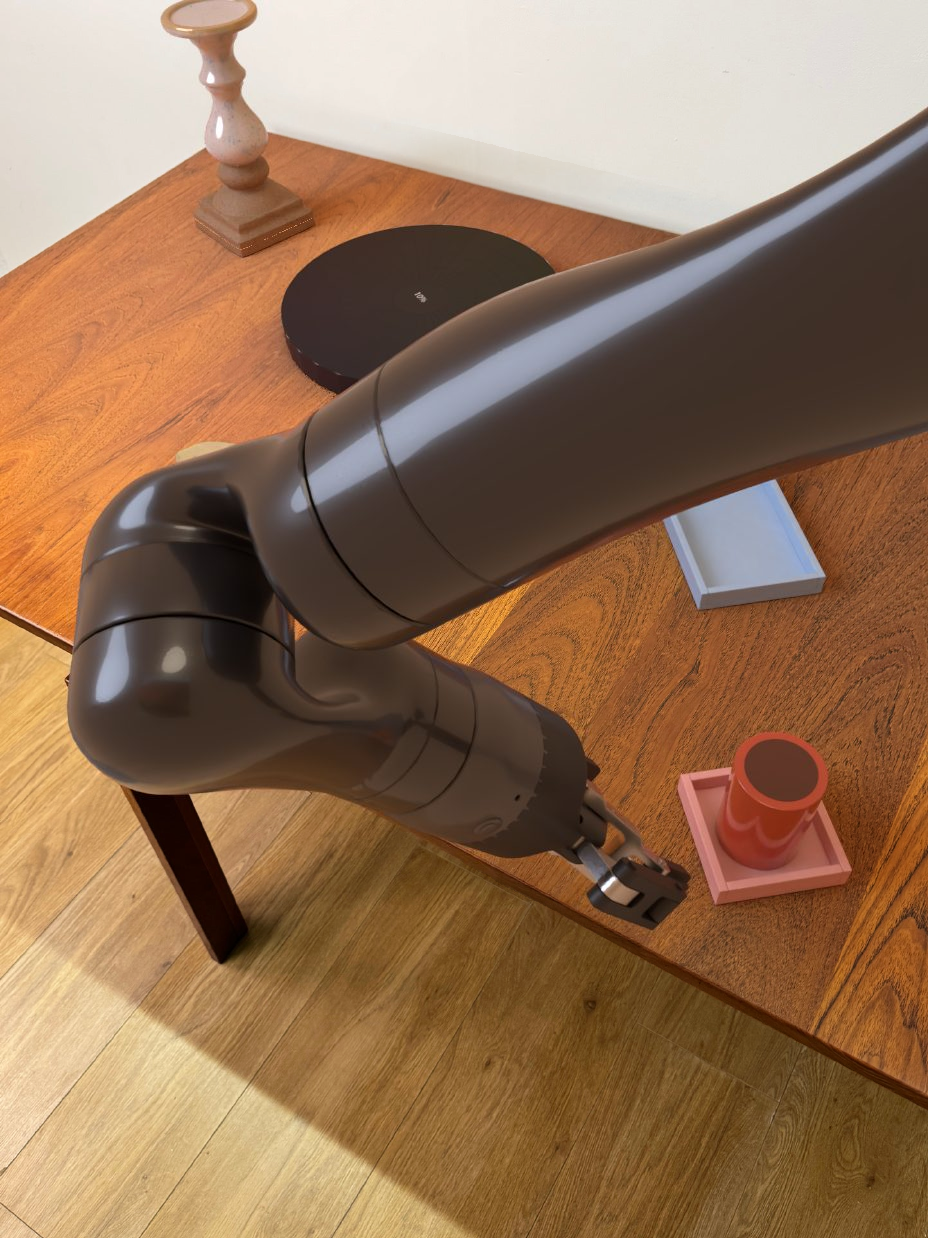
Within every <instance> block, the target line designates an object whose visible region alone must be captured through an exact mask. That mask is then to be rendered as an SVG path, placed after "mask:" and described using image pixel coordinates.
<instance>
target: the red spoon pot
mask: <svg viewBox="0 0 928 1238" xmlns="http://www.w3.org/2000/svg"><path fill="white" fill-rule="evenodd" d="M731 767H732V768H731V771H730V775H729V778H728V781H727V785H726V788H725V791H724V794H723V798H722V801H721V804H720V808H719V811H718V814H717V817H716V822H715V831H716V836H717V839H718V841H719V843H720V845H721V847H722V848H723V850H724V851H725V852H726V853H727V854H728V855H729V856H730V857H731V858H732V859H733V860H735V861H736V862H738V863H739V864H741V865H743V866H746V867H748V868H752V869H756V870H773V869H777V868H780V867H782V866H784V865H786V864H788V863H789V862H790V861H791V860H792V859H793V858H794V857H795V856H796V854H797V852H798V850H799V848H800V846H801V843H802V841H803V839H804V837H805V835H806V833H807V830H808V828H809V826H810V824H811V822H812V819H813V817H814V815H815V813H816V811H817V808H818V806H819V804H820V802H821V800H822V799H823V798H824V795H825V793H826V791H827V788H828V785H829V772H828V768H827V765H826V762H825V760H824V759H823V756H822V755H821V754H820V753H819V752H818V750H817V749H815V747H814V746H812V745H811V744H810V743H809V742H807V741H806V740H804V739H802V738H800V737H799V736H797V735H793V734H790V733H787V732H781V731H765V732H761V733H758V734H755V735H752V736H751V737H749V738H747V739H746V740H745V741H743V742H742V743H741V745H739V747H738V749H737V750H736V752H735V755H734V759H733V762H732V765H731ZM822 801H823V800H822Z"/></svg>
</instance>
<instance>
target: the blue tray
mask: <svg viewBox="0 0 928 1238" xmlns="http://www.w3.org/2000/svg"><path fill="white" fill-rule="evenodd" d="M662 522H663V524H664V527H665V529H666V533H667V534H668V537H669V539H670V542H671V544H672V548H673V550H674V552H675V556H676V557H677V560H678V563H679V565H680V568H681V570H682V572H683V575H684V578H685V580H686V583H687V586H688V588H689V590H690V593H691V595H692V598H693V601H694V602H695V605H696V608H697V611H703V610H704V611H705V610H711V609H717V608H724V607H731V606H737V605H738V606H739V605H745V604H754V603H759V602H760V603H761V602H766V601H767V602H768V601H773V600H781V599H787V598H788V599H789V598H794V597H802V596H809V595H816V594H821V593H822V590H823V588H824V587H823V586H824V583H825V580H826V579H827V576H826V574H825V572H824V570H823V568H822V566H821V564H820V562H819V560H818V558H817V556H816V554H815V553H814V550H813V549H812V547H811V544H810V543H809V541H808V539H807V537H806V534H805V533H804V531H803V529H802V528H801V526H800V523H799V521H798V520H797V518H796V516H795V514H794V512H793V510H792V508H791V506H790V504H789V502H788V500H787V498H786V497H785V495H784V493H783V490H782V489H781V487H780V485H779V483H778V481H777V479H774V480H771V481H768V482H765V483H762V484H759V485H756V486H753V487H750V488H747V489H744V490H741V491H738V492H735V493H732V494H730V495H727V496H724V497H721V498H719V499H716V500H713V501H710V502H708V503H705V504H702V505H700V506H697V507H694V508H691V509H689V510H686V511H684V512H681V513H679V514H676V515H674V516H671V517H669V518H666V519H664V520H662Z"/></svg>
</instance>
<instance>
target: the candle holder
mask: <svg viewBox="0 0 928 1238" xmlns="http://www.w3.org/2000/svg"><path fill="white" fill-rule="evenodd" d="M258 14H259V13H258V6H257V4H256V3H255V2H254V1H253V0H180V1H177V2H175V3H173V4H171V5H170V6H168V7H166V8H165V9H164V10H163V12H162V13H161V15H160V24H161V27H162V29H163V30H164V31H165V32H166V33H167V34H169V35H170V36H173V37H176V38H179V39H185V40H186V39H187V40H189V41H190V43H191V44H192V45H194V46H195V47H196V48H197V50H198V51H199V53H200V55H201V59H202V64H201V65H202V66H201V68H200V71H199V74H198V80H199V83H200V84H201V85H203V86H204V87H205V89H206V91H207V92H209V94H210V96H211V99H212V103H211V110H210V114H209V117H208V119H207V123H206V124H205V125H206V126H205V128H204V129H205V130H204V134H203V135H204V136H203V137H204V139H203V140H204V145H205V149H206V151H207V152H208V154H209V155H210V156H211V157H212V158H213V159H215V160H216V161H217V162H219V163H218V166H217V169H216V171H217V172H216V173H217V177H218V180H219V181H220V182H221V184H222V185H221V186H220V187H219V188H218V189H217V190H215V191H213V192H211V193H208V194H206V195H204V196H203V197H201V198H200V199H199V200H198V201H197V202H198V205H199V207H198V208H196V209H195V210H194V211H192V214H193V218H194V217H195V218H196V219H197V220H199V222H201V223H203V225H205V226H206V227H208V228H209V229H211V230H212V231H214V232H215V233H216V234H218V235H219V236H220V237H219V236H218V235H216V234H215V233H213V232H212V231H210V230H209V229H208V228H206V227H205V226H203V225H202V224H200V223H199V222H198V221H196V220H195V218H194V221H195V226H196V227H197V228H198V229H199V230H200V231H202V232H203V233H205V234H206V235H208V236H209V237H210V238H212V239H213V240H215V241H216V242H217V243H219V244H220V245H222V246H223V247H224V248H226V249H227V250H229V251H231V252H232V253H234V254H235V255H237V256H239V257H241V258H244V257H247V256H250V255H252V254H255V253H257V252H260V251H262V250H263V249H266V248H268V247H271V246H272V245H274V244H277V243H279V242H282V241H283V240H285V239H288V238H290V237H292V236H294V235H297V234H299V233H301V232H303V231H305V230H308V229H309V228H311V227H314V226H315V224H316V223H315V217H314V213H313V210H312V209H311V208H310V207H309V206H307V205H306V204H304V201H303V199H302V198H301V197H300V196H299V195H298V194H296V193H295V192H293V191H292V190H290V189H289V188H287V187H286V186H284V185H283V184H281V183H279V182H277V181H276V180H274V179H273V178H270V177H268V176H269V175H270V165H269V163H268V161H267V159H265V157H264V156H262V155H263V154H264V153H265V152H266V150H267V148H268V146H269V145H268V144H269V134H268V133H269V132H268V130H267V128H266V126H265V124H264V122H263V121H262V120H261V118H260V117H259V116H258V115H257V113H256V112H255V111H254V110H253V109H252V108H251V106H250V105H249V104H248V103H247V101H246V100H245V98H244V97H243V93H242V89H243V86H244V80H245V79H246V77H247V71H246V69H245V67H244V66H242V65H241V63H240V62H239V61H238V60H237V57H236V55H235V50H234V49H235V48H234V47H235V42H236V40H237V38H238V35H239V32H243V30H245V29H248V28H249V27H251V26H252V25H253V24H254V23H255V22H256V20H257V18H258ZM311 218H312V219H311ZM309 219H310V220H309ZM307 220H308V221H307ZM305 221H306V222H305ZM303 222H304V223H303ZM300 223H301V224H300ZM295 225H297V226H295ZM294 226H295V227H294ZM291 227H292V228H291ZM289 228H290V229H289ZM286 229H288V230H286ZM284 230H286V231H284ZM282 231H284V232H282ZM279 232H281V233H279ZM276 234H277V235H276ZM274 235H275V236H274ZM272 236H273V237H272ZM222 238H223V239H222ZM267 238H268V239H267ZM224 239H225V240H226V241H228V242H229V243H230V244H229V243H228V242H226V241H225V240H224ZM264 239H266V240H264ZM231 244H232V245H234V246H235V247H234V246H232V245H231ZM251 245H252V246H251ZM249 246H250V247H249ZM236 247H237V248H239V249H237V248H236ZM246 247H248V248H246ZM243 248H245V249H243ZM240 249H242V250H240Z"/></svg>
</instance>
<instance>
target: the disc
mask: <svg viewBox="0 0 928 1238" xmlns="http://www.w3.org/2000/svg"><path fill="white" fill-rule="evenodd" d="M556 273H557V272H556V271H555V269H554V268H553V267H552V265H551V264H550V263H549V262H548V260H547V259H546V258H544V257H543V256H542V255H541V254H539V252H537V251H536V250H535V249H534V248H531V247H529V245H528V246H527V245H526V244H525V243H522V242H521V241H518V240H517V239H514V238H511V237H509V236H506V235H503V234H500V233H497V232H495V231H492V230H486V229H483V228H477V227H472V226H463V225H453V224H415V225H406V226H405V225H404V226H395V227H391V228H386V229H381V230H377V231H371V232H368V233H366V234H363V235H360V236H356V237H354V238H351V239H348V240H346V241H343V242H341V243H339V244H337V245H334V246H333V247H331V248H329V249H327V250H325V251H324V252H322V253H321V254H319V255H317V256H316V257H315V258H313V259H312V260H309V261H308V263H307V264H306V265H305V266H303V268H302V269H300V270H299V271H298V272H297V273H296V274H295V275H294V276H293V278H292V280H291V281H290V283H288V286H287V288H286V289H285V291H284V294H283V297H282V301H281V304H280V321H281V325H282V329H283V334H284V338H285V344H286V346H287V348H288V351H289V354H290V356H291V359H292V361H294V363H295V364H296V365H297V367H298V368H299V369H300V371H301V372H302V373H303V374H304V375H305V376H306V377H308V378H309V379H310V380H312V381H313V382H315V383H316V384H317V385H318V386H320V387H322V388H324V389H326V390H328V391H330V392H332V393H334V394H336V395H337V396H338V395H339V394H341V393H342V392H343V391H345V390H346V389H348V388H349V387H351V386H352V385H353V384H355V383H356V382H358V381H359V380H361V379H362V378H363V377H365V376H366V375H368V374H369V373H371V372H372V371H373V370H375V369H376V368H378V367H379V366H381V365H382V364H383V363H385V362H386V361H388V360H389V359H391V358H392V357H393V356H395V355H396V354H398V353H399V352H400V351H402V350H403V349H405V348H406V347H408V346H409V345H411V344H412V343H413V342H415V341H416V340H418V339H419V338H421V337H422V336H424V335H426V334H427V333H429V332H430V331H432V330H434V329H435V328H437V327H439V326H440V325H442V324H443V323H445V322H447V321H448V320H450V319H452V318H454V317H456V316H457V315H459V314H461V313H463V312H465V311H467V310H469V309H470V308H472V307H474V306H476V305H478V304H480V303H483V302H485V301H487V300H489V299H491V298H493V297H495V296H497V295H500V294H502V293H504V292H507V291H509V290H512V289H514V288H517V287H519V286H522V285H524V284H527V283H530V282H532V281H535V280H538V279H541V278H544V277H547V276H550V275H553V274H556Z"/></svg>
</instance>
